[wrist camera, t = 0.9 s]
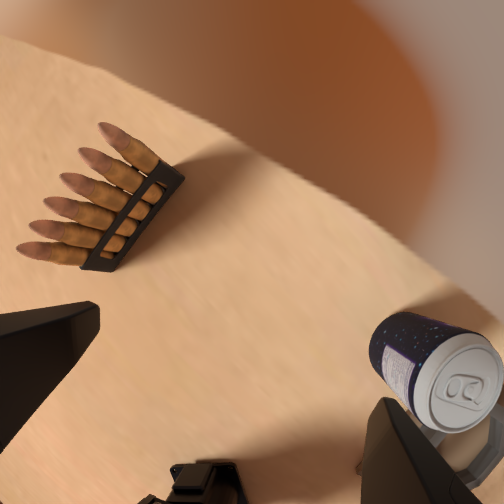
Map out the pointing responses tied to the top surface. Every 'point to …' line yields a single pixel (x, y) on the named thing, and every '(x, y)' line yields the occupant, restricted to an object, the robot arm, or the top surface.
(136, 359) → the top surface
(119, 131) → the ammunition clip
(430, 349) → the beverage can
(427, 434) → the can holder
